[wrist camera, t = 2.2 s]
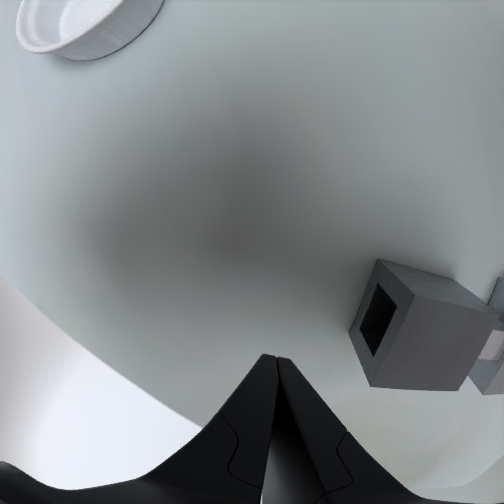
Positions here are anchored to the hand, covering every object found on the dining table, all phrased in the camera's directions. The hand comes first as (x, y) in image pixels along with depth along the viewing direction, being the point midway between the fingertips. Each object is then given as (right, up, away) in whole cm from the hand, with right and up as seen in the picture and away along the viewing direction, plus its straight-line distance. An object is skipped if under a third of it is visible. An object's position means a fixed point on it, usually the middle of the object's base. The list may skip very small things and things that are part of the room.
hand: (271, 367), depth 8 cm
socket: (+9, 0, +8) cm, 11 cm away
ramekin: (-9, +18, +4) cm, 21 cm away
